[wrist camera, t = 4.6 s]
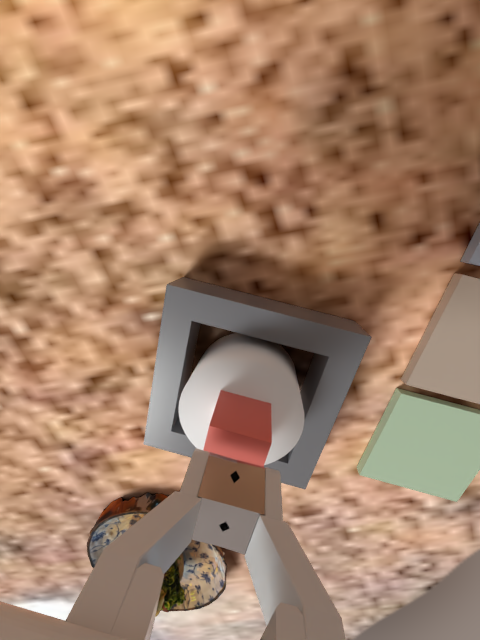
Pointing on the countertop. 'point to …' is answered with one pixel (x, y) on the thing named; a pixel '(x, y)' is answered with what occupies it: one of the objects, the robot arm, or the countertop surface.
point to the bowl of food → (183, 575)
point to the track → (436, 401)
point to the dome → (243, 401)
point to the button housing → (264, 323)
